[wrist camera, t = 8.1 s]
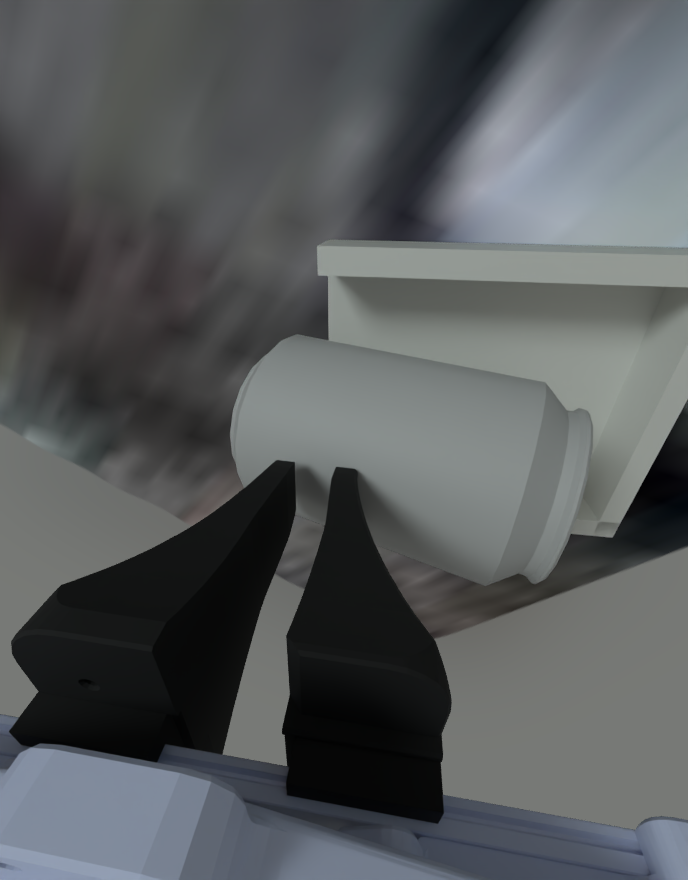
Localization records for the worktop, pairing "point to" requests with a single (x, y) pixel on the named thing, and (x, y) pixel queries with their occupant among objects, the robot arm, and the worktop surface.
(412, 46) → the worktop surface
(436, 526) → the can
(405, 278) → the tray
